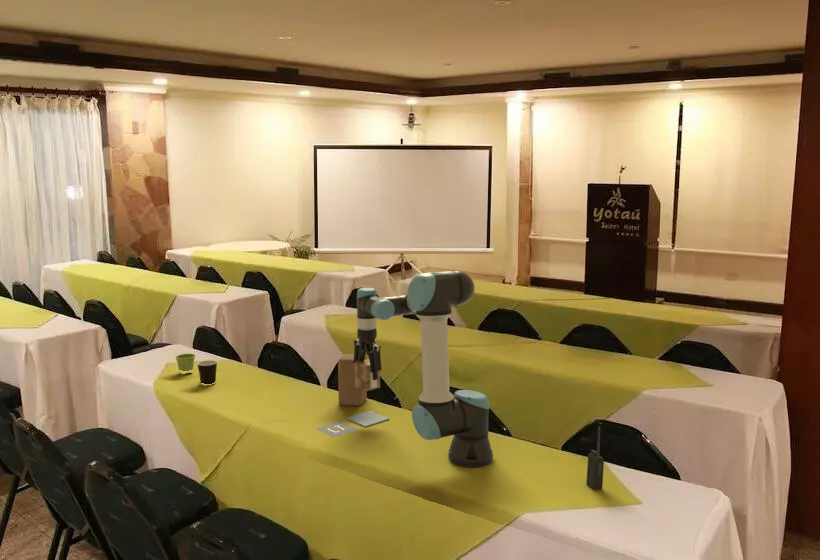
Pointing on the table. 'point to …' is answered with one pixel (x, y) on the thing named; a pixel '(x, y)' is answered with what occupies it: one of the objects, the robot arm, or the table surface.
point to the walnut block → (364, 375)
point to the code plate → (336, 429)
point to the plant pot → (185, 361)
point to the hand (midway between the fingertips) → (367, 385)
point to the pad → (367, 418)
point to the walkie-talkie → (595, 467)
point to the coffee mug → (207, 371)
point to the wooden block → (349, 382)
